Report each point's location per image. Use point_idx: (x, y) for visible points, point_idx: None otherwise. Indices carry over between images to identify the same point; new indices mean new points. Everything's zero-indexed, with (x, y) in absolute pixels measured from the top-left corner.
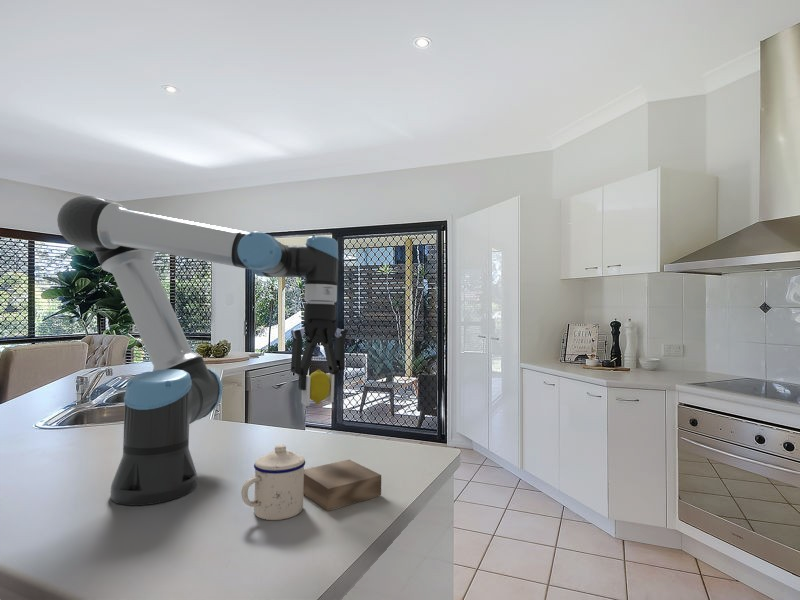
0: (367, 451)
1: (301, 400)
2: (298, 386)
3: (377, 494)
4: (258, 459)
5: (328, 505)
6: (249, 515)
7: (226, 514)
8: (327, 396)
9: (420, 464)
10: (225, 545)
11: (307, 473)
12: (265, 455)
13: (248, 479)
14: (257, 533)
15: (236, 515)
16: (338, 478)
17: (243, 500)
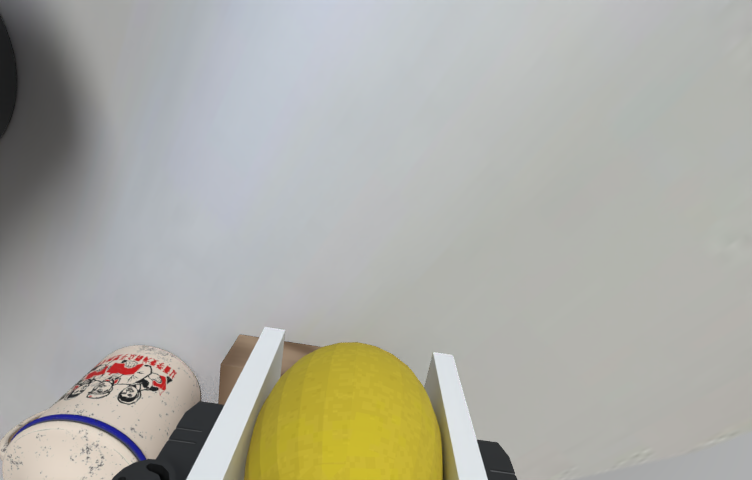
0: (621, 224)
1: (259, 338)
2: (181, 418)
3: None
4: (10, 456)
5: None
6: (89, 367)
7: (48, 331)
8: (429, 397)
9: (607, 417)
10: None
11: (227, 395)
12: (27, 463)
13: (1, 455)
14: None
15: (65, 349)
16: None
17: (27, 423)
